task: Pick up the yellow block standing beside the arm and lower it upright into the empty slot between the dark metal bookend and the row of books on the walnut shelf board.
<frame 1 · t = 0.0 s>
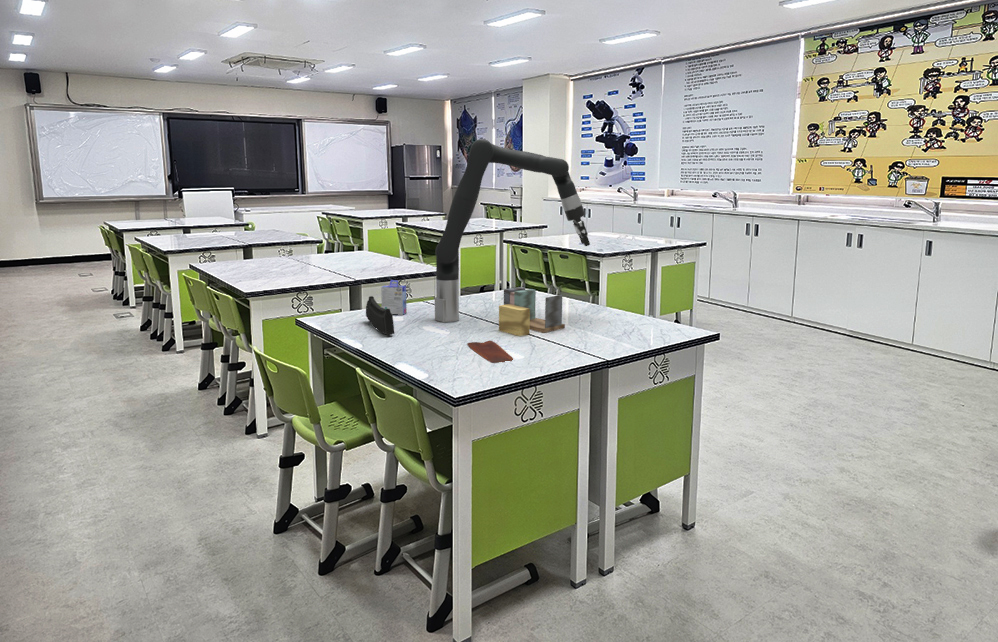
hand: (586, 244, 280), 31 cm above the table, tool tilted 20°, fingers open, 8 cm apart
yellow block: (514, 332, 264), on the table
ink cartridge box: (394, 314, 297), on the table
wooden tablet: (490, 354, 236), on the table
magazine: (379, 329, 269), on the table
book shelf: (531, 324, 276), on the table
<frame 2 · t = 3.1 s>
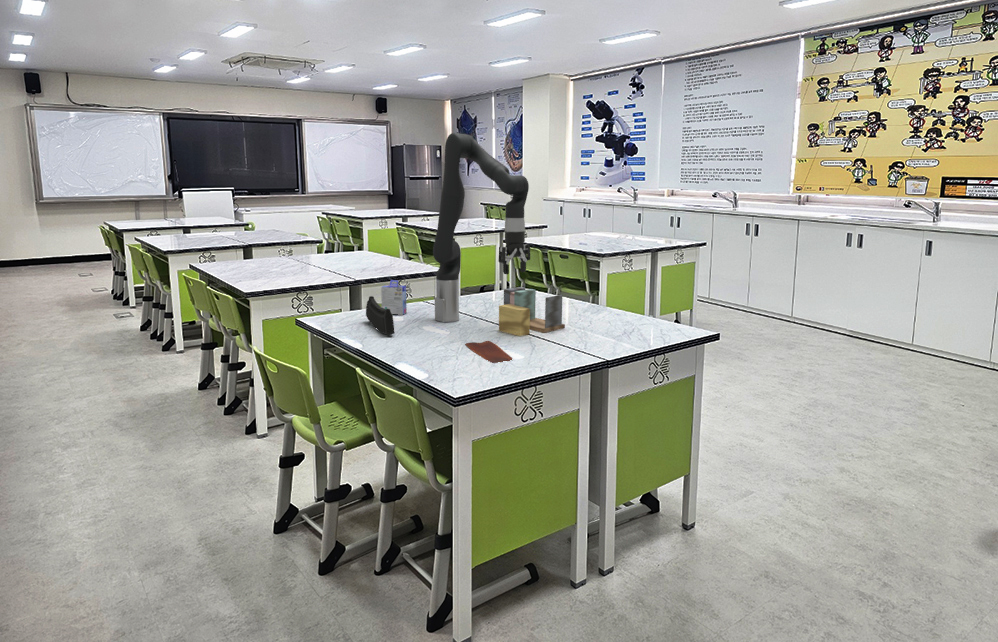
hand: (514, 272, 259), 23 cm above the table, tool pointing down, fingers open, 8 cm apart
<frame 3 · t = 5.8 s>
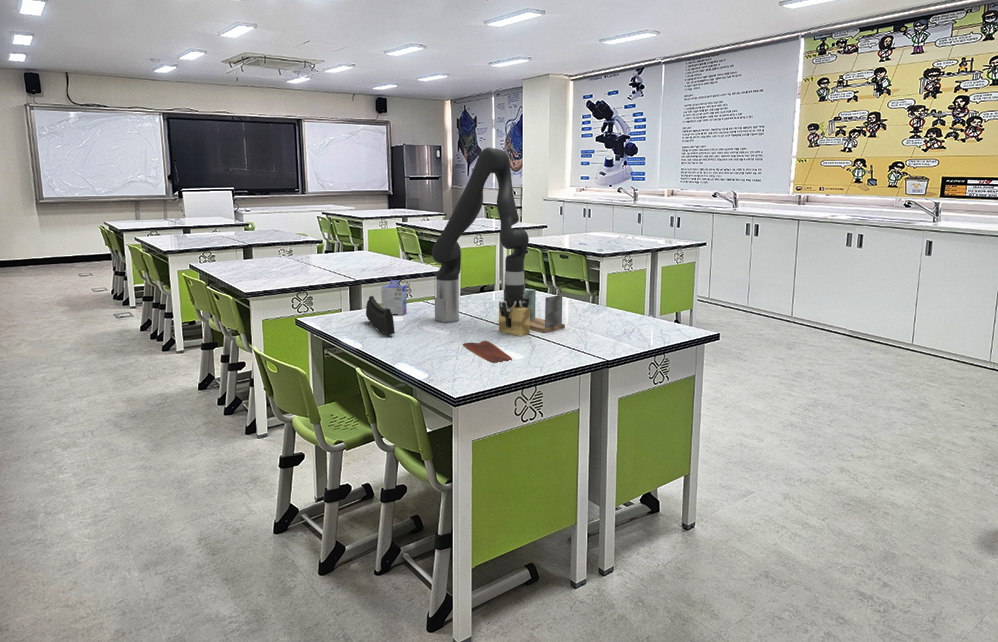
hand: (514, 326, 264), 2 cm above the table, tool pointing down, fingers closed on yellow block, 5 cm apart
yellow block: (514, 332, 264), on the table, touching gripper
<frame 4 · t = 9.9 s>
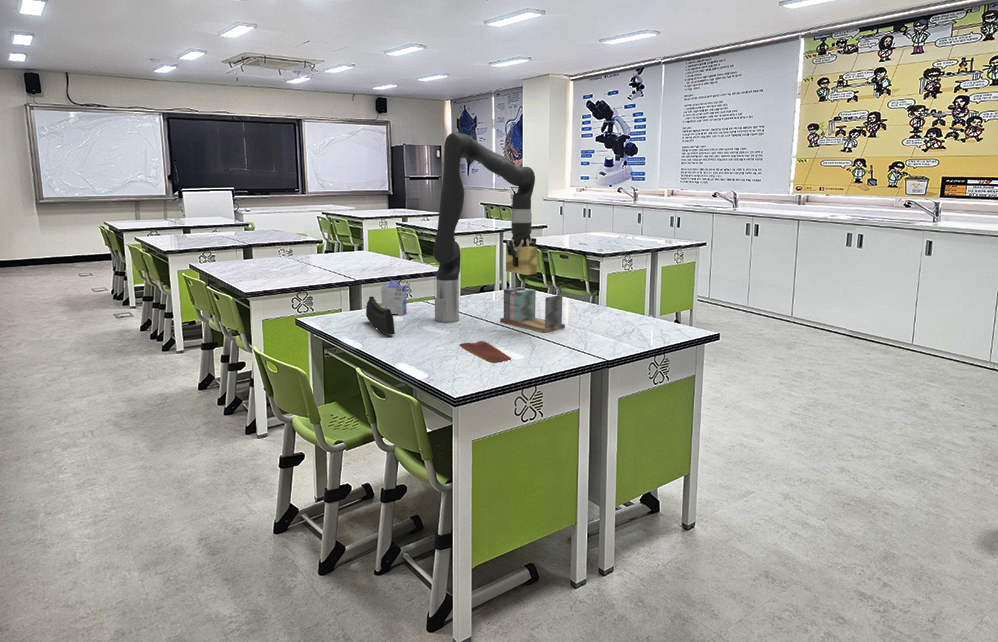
hand: (521, 265, 261), 25 cm above the table, tool pointing down, fingers closed on yellow block, 5 cm apart
yellow block: (521, 272, 261), point 23 cm above the table, touching gripper
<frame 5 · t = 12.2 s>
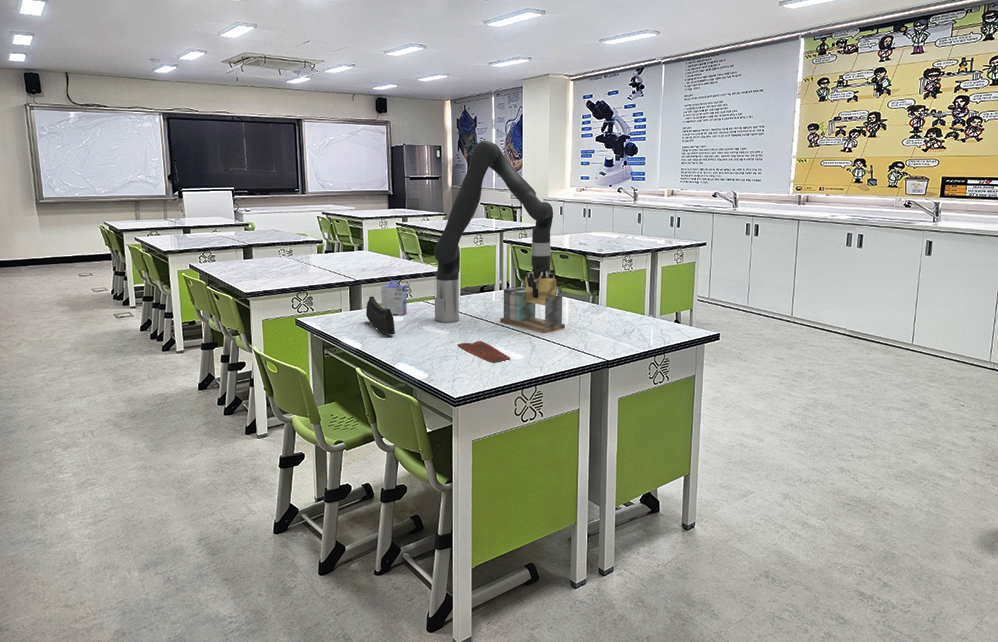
hand: (540, 296, 270), 12 cm above the table, tool pointing down, fingers closed on yellow block, 5 cm apart
yellow block: (540, 302, 271), point 10 cm above the table, touching gripper
when the fingers open (5 cm above the table, at t = 14.3 s): yellow block drops 1 cm, resting on book shelf.
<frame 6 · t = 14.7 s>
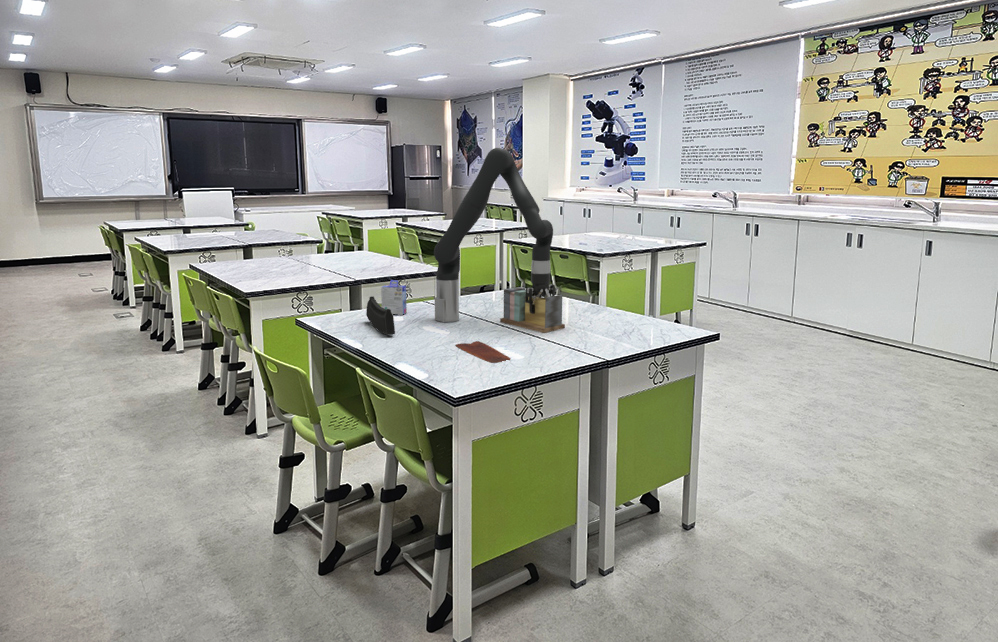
hand: (540, 311, 272), 6 cm above the table, tool pointing down, fingers open, 8 cm apart
yellow block: (539, 323, 273), point 1 cm above the table, touching book shelf
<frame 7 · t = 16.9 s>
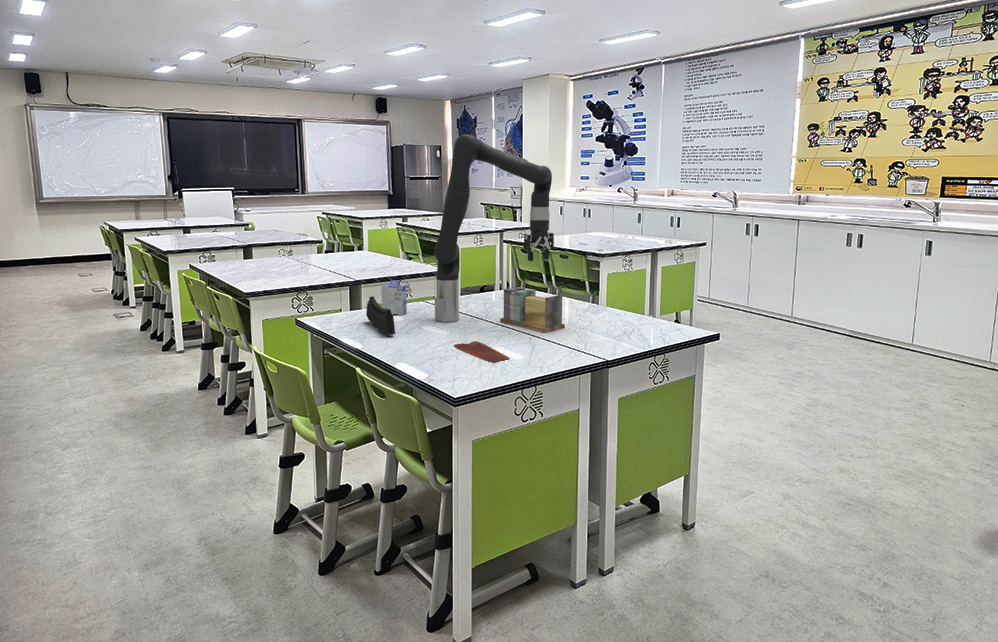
hand: (538, 260, 268), 27 cm above the table, tool pointing down, fingers open, 8 cm apart
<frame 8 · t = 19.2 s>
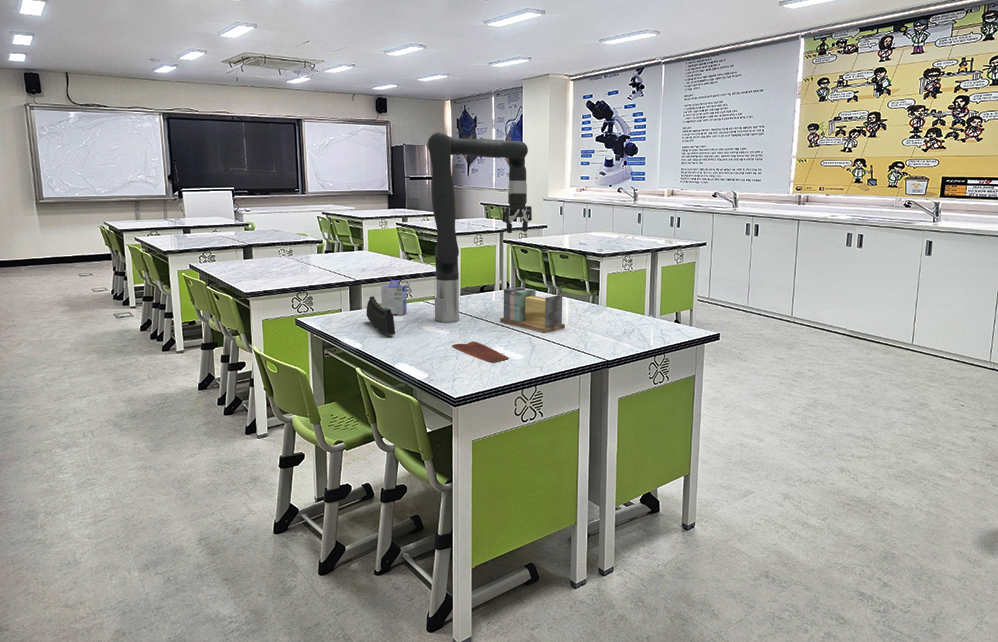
hand: (517, 232, 281), 36 cm above the table, tool pointing down, fingers open, 8 cm apart
at the end: yellow block 0.1 cm from the target spot on the book shelf, point 1.5 cm above the book shelf's base; yellow block tilted 0°; the gripper is holding nothing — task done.
